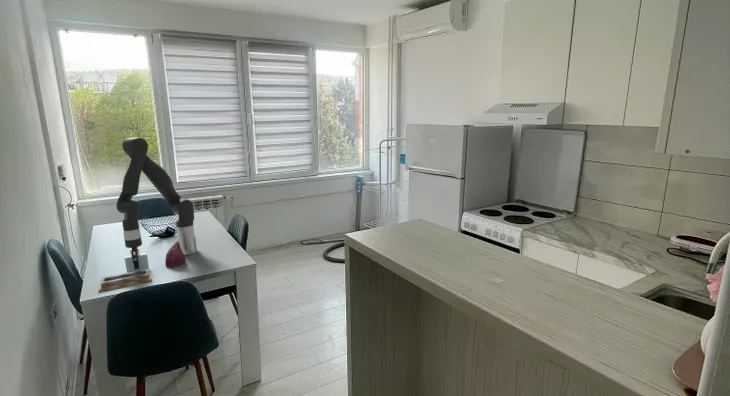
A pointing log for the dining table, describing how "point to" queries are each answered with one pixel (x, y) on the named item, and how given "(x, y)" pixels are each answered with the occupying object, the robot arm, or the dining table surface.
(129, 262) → the door panel
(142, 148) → the robot arm
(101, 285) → the track board
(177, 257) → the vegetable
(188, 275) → the dining table surface
